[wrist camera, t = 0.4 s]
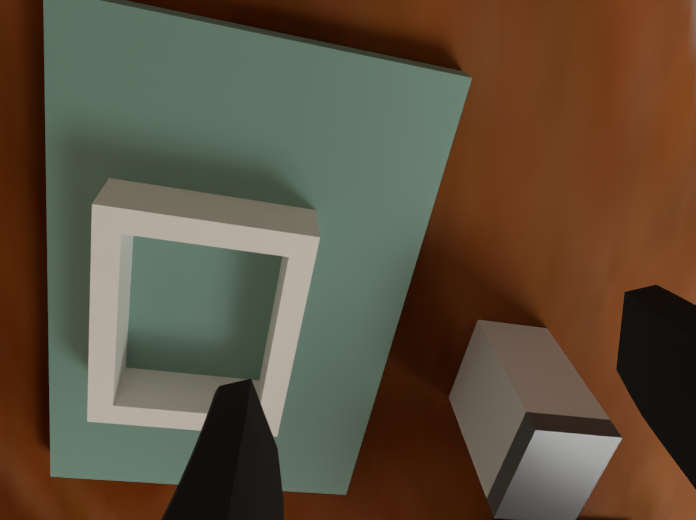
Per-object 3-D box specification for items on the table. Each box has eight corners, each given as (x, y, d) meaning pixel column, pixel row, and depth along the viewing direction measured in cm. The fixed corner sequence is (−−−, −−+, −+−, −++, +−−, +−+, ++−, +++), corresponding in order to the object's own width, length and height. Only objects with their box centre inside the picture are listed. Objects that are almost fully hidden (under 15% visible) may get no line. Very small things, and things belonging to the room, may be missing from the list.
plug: (513, 403, 26) (574, 522, 21) (448, 397, 25) (493, 518, 20) (547, 328, 24) (621, 437, 19) (477, 319, 24) (535, 429, 18)
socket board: (343, 476, 27) (350, 535, 24) (58, 457, 25) (32, 519, 22) (463, 70, 19) (492, 93, 16) (55, -15, 17) (14, -5, 14)
